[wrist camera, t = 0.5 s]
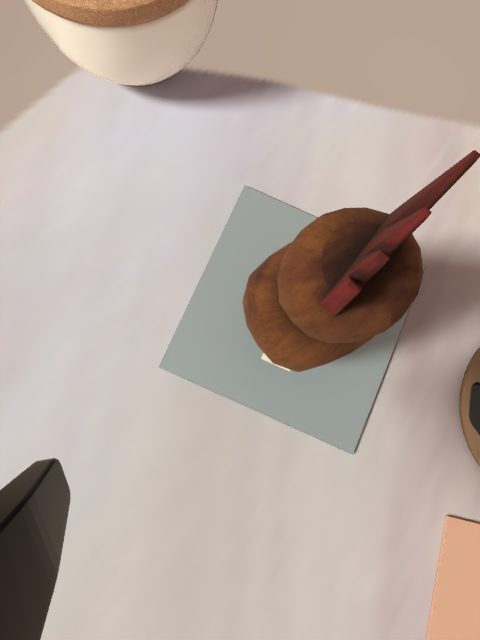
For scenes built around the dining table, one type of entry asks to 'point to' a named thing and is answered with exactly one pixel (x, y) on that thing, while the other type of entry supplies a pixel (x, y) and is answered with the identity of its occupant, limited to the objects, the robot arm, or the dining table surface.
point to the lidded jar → (127, 35)
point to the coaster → (475, 372)
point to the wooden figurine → (341, 280)
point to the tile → (457, 584)
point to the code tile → (248, 359)
